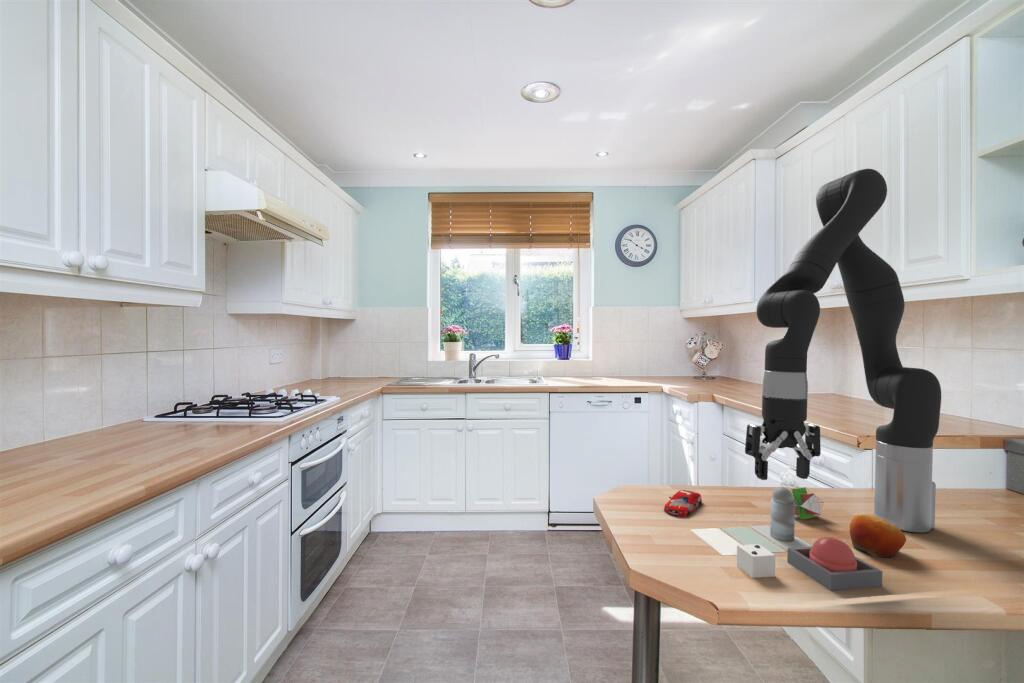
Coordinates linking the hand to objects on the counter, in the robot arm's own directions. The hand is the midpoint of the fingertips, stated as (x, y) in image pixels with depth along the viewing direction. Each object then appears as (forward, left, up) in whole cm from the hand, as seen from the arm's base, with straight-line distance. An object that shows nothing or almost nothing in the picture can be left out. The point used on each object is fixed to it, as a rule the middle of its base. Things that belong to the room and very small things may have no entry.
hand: (781, 478), depth 89 cm
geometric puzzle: (-12, -9, -12) cm, 20 cm away
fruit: (-13, +7, -12) cm, 20 cm away
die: (+14, +11, -12) cm, 21 cm away
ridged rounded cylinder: (0, 0, -11) cm, 11 cm away
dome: (+2, +14, -12) cm, 18 cm away
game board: (+6, 0, -12) cm, 14 cm away
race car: (+11, -17, -13) cm, 24 cm away
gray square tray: (+2, +14, -12) cm, 18 cm away
